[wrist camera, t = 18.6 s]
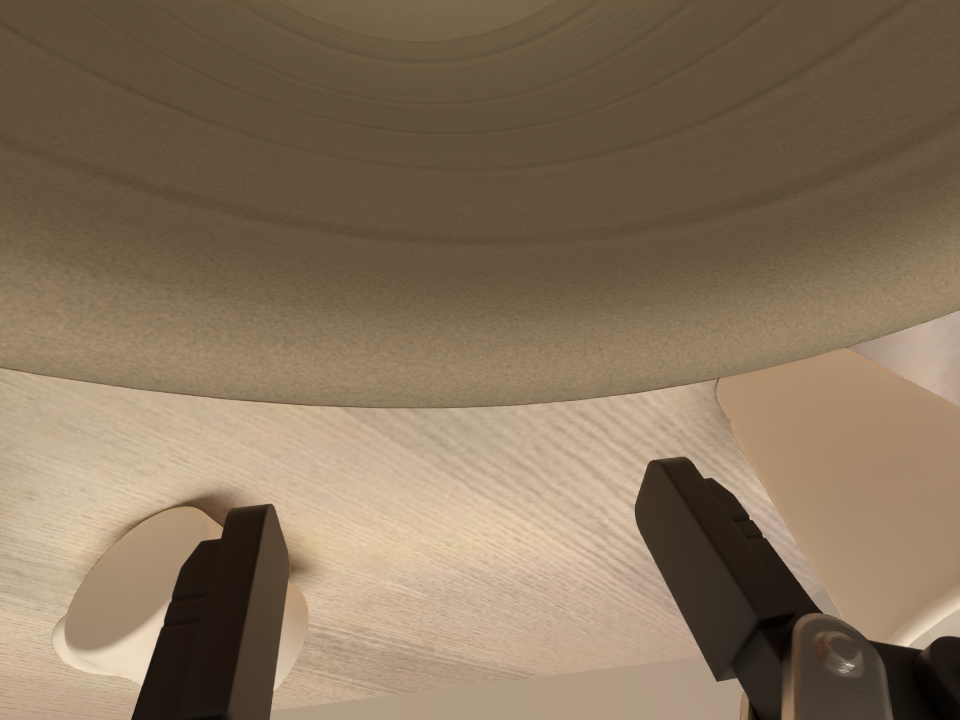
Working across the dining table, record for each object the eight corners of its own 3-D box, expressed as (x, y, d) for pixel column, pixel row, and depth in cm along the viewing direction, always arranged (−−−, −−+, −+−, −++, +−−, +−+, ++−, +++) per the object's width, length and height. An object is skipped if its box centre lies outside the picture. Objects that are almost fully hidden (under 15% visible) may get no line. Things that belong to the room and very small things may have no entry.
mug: (222, 484, 29) (182, 620, 23) (315, 567, 35) (303, 693, 29) (42, 558, 30) (-45, 710, 24) (163, 627, 36) (119, 762, 30)
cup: (884, 272, 29) (1289, 487, 16) (827, 420, 36) (1079, 650, 23) (689, 316, 28) (955, 578, 16) (670, 458, 35) (843, 718, 23)
